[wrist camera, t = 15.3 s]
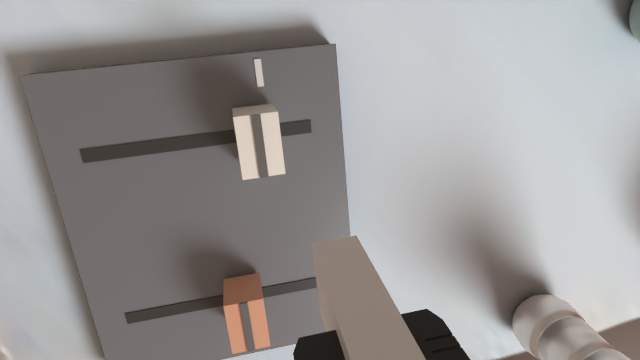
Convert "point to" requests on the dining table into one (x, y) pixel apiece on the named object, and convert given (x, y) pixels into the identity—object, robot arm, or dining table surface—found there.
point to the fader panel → (193, 193)
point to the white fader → (258, 141)
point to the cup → (635, 19)
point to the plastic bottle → (558, 332)
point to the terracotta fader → (245, 313)
